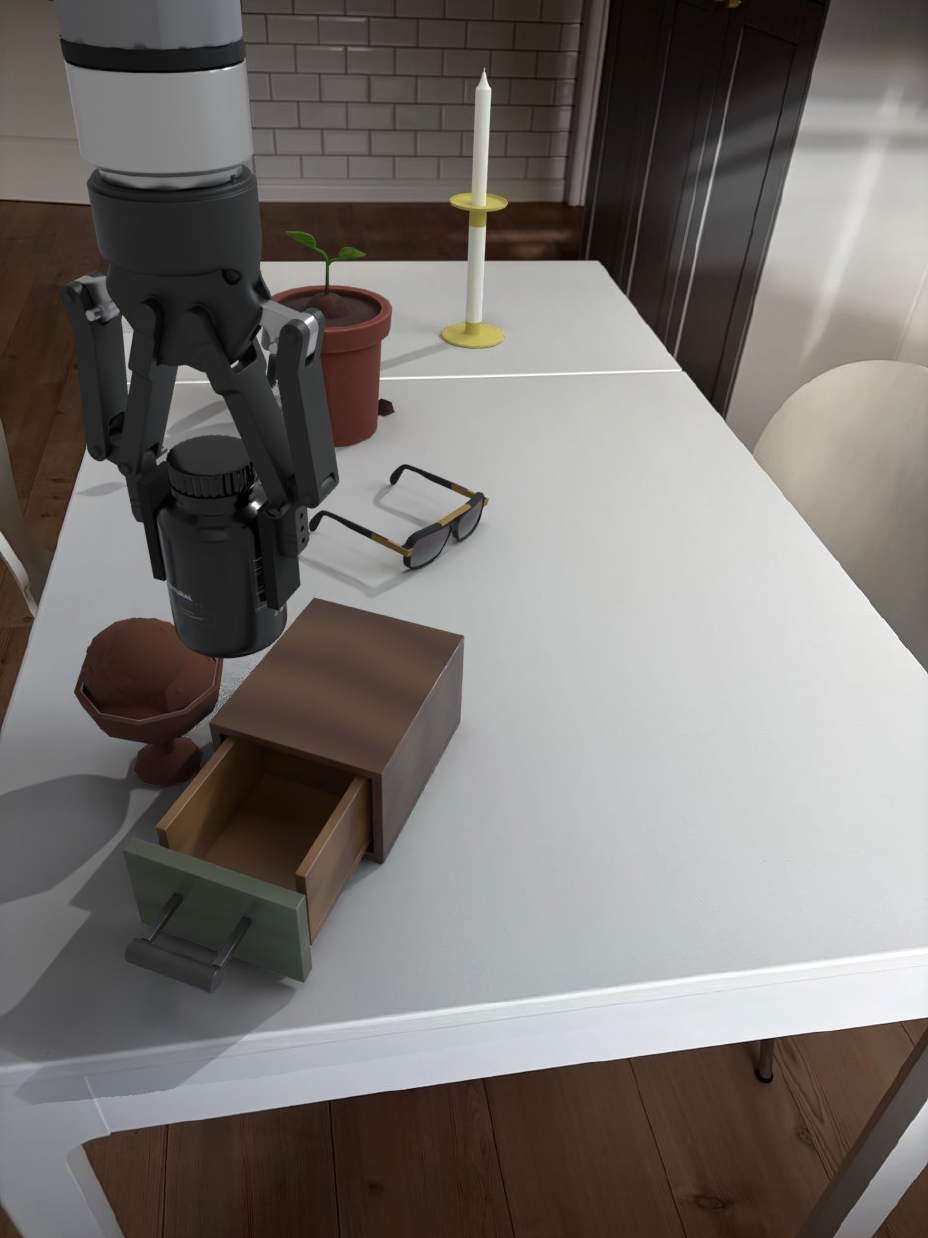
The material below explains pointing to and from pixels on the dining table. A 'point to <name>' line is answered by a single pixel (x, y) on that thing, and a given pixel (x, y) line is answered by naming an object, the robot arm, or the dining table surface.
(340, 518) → the sunglasses
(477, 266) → the candle
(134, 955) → the drawer
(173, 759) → the ice cream bowl
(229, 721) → the cabinet
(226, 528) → the supplement bottle
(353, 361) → the potted plant
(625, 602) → the dining table surface
